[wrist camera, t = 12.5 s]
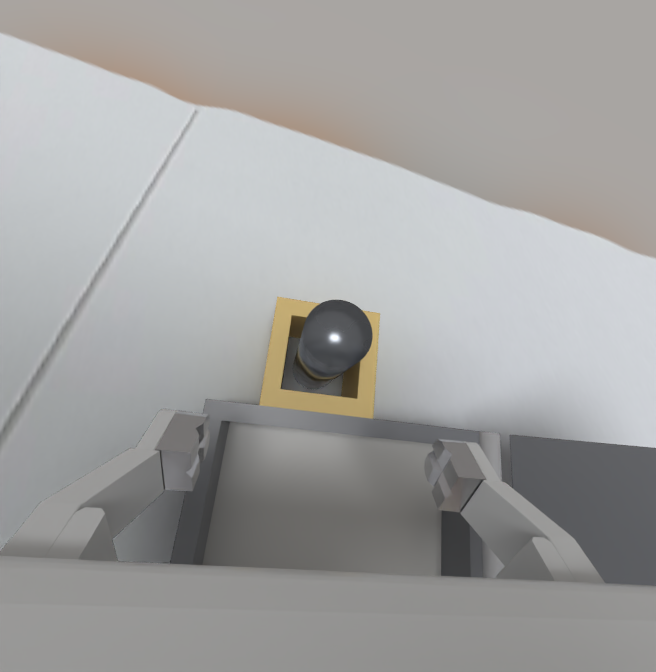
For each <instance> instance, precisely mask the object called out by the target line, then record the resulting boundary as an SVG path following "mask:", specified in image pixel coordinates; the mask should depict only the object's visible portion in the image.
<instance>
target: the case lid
mask: <svg viewBox="0 0 656 672" xmlns="http://www.w3.org/2000/svg"><path fill="white" fill-rule="evenodd" d="M510 449H511V467H512V485H513V489H514V490H515V491H516V492H518V493H519V494H520V495H521V496H523V497H524V498H525V499H526V500H528V501H529V502H530V503H531V504H532V505H534V506H535V507H536V508H537V509H539V510H540V511H541V512H542V513H544V514H545V515H546V516H547V517H548V518H550V519H551V520H552V521H553V522H555V523H556V524H557V525H558V526H559V527H561V528H562V529H563V530H564V531H566V532H567V533H568V534H569V535H571V536H572V537H573V538H574V539H575V540H576V542H577V543H578V545H579V546H580V547H581V549H582V550H583V552H584V553H585V555H586V556H587V558H588V559H589V560H590V562H591V563H592V565H593V566H594V568H595V569H596V570H597V572H598V573H599V575H600V576H601V578H602V579H603V581H604V582H605V583H610V584H633V585H655V586H656V448H649V447H638V446H627V445H617V444H606V443H595V442H584V441H573V440H562V439H551V438H540V437H529V436H518V435H510Z"/></svg>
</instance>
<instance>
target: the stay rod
mask: <svg viewBox="0 0 656 672" xmlns="http://www.w3.org/2000/svg"><path fill="white" fill-rule="evenodd" d="M372 338H373V333H372V327H371V324H370V321H369V319H368V318H367V316H366V315H365V313H364V312H363V311H362V310H361V309H360V308H358V307H357V306H356V305H354V304H352V303H350V302H347V301H343V300H329V301H326V302H323V303H321V304H319V305H317V306H316V307H315V308H314V309H313V310H312V311H311V312H310V313H309V315H308V316H307V318H306V321H305V324H304V327H303V331H302V335H301V338H300V342H299V346H298V350H297V353H296V357H295V361H294V365H293V374H294V377H295V379H296V380H297V382H298V383H299V384H300V385H301V386H303V387H305V388H307V389H313V390H314V389H320V388H322V387H324V386H325V385H327V384H328V383H330V382H331V381H332V380H334V379H335V378H337V377H338V376H339V375H341V374H342V373H344V372H345V371H347V370H348V369H349V368H351V367H352V366H354V365H355V364H356V363H358V362H359V361H361V360H362V359H363V358H364V357H365V356H366V354H367V353H368V351H369V349H370V347H371V344H372Z"/></svg>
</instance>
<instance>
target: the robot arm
mask: <svg viewBox="0 0 656 672" xmlns="http://www.w3.org/2000/svg"><path fill="white" fill-rule="evenodd" d="M209 424H210V415H208V414H201V413H193V412H186V411H176V410H169V409H161V410H160V411H159V412H158V413H157V415H156V416H155V418H154V419H153V421H152V422H151V424H150V426H149V427H148V429H147V430H146V432H145V434H144V435H143V437H142V438H141V440H140V441H139V443H138V445H137V446H136V448H129V449H128V450H126V451H124V452H123V453H121V454H119V455H118V456H116V457H114V458H113V459H111V460H109V461H108V462H106V463H104V464H103V465H101V466H100V467H98V468H96V469H95V470H93V471H91V472H90V473H88V474H86V475H85V476H83V477H81V478H80V479H78V480H76V481H75V482H73V483H71V484H70V485H68V486H67V487H65V488H63V489H62V490H60V491H58V492H57V493H55V494H53V495H52V496H50V497H48V498H47V499H45V500H43V501H42V502H40V503H39V505H38V506H37V507H36V508H35V510H34V511H33V512H32V513H31V514H30V516H29V517H28V518H27V519H26V521H25V522H24V523H23V524H22V526H21V527H20V528H19V529H18V530H17V532H16V533H15V534H14V535H13V537H12V538H11V539H10V540H9V541H8V543H7V544H6V545H5V546H4V548H3V549H2V550H1V551H0V672H656V586H655V585H633V584H610V583H605V582H604V581H603V579H602V578H601V576H600V575H599V573H598V572H597V570H596V569H595V568H594V566H593V565H592V563H591V562H590V560H589V559H588V558H587V556H586V555H585V553H584V552H583V550H582V549H581V547H580V546H579V545H578V543H577V542H576V540H575V539H574V538H573V537H572V536H571V535H569V534H568V533H567V532H566V531H564V530H563V529H562V528H561V527H559V526H558V525H557V524H556V523H555V522H553V521H552V520H551V519H550V518H548V517H547V516H546V515H545V514H544V513H542V512H541V511H540V510H539V509H537V508H536V507H535V506H534V505H532V504H531V503H530V502H529V501H528V500H526V499H525V498H524V497H523V496H521V495H520V494H519V493H518V492H516V491H515V490H514V489H513V488H512V487H510V486H509V485H508V484H507V483H505V482H501V481H500V479H499V477H498V476H497V474H496V472H495V471H494V469H493V467H492V466H491V464H490V462H489V461H488V459H487V457H486V456H485V454H484V452H483V451H482V449H481V447H480V446H479V445H478V444H477V443H474V442H464V441H463V442H462V441H454V440H444V439H437V440H435V441H434V443H433V445H432V447H433V451H432V452H430V453H429V454H427V457H426V459H425V464H424V470H425V475H426V478H427V481H428V482H429V483H430V484H431V485H432V486H433V489H432V495H433V497H434V500H435V503H436V506H437V508H438V510H443V511H453V512H461V513H460V514H461V515H462V516H463V517H464V518H465V520H466V521H467V522H468V523H469V524H470V525H471V527H472V528H473V529H474V530H475V531H476V533H477V534H478V535H479V536H480V537H481V538H482V540H483V541H484V542H485V543H486V544H487V546H488V547H489V548H490V549H491V550H492V551H493V553H494V554H495V555H496V556H497V557H498V559H499V560H500V561H501V562H502V563H503V564H504V566H505V567H504V568H503V569H502V570H501V571H500V572H499V573H498V574H497V577H496V578H477V577H455V576H433V575H412V574H390V573H368V572H346V571H324V570H301V569H279V568H257V567H235V566H213V565H190V564H168V563H146V562H124V561H118V559H117V555H116V552H115V548H114V545H113V541H112V539H113V538H114V537H115V536H116V535H117V534H118V533H120V532H121V531H122V530H123V529H124V528H125V527H126V526H127V525H128V524H129V523H130V522H132V521H133V520H134V519H135V518H136V517H137V516H138V515H139V514H140V513H141V512H142V511H144V510H145V509H146V508H147V507H148V506H149V505H150V504H151V503H152V502H153V501H154V500H156V499H157V498H158V497H159V496H160V495H161V494H162V493H163V492H164V490H174V491H193V489H194V486H195V483H196V481H197V478H198V475H199V473H200V463H202V462H203V461H204V459H205V456H206V454H207V450H208V446H209V439H210V432H209V431H208V430H207V429H208V426H209Z"/></svg>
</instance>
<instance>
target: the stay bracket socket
mask: <svg viewBox="0 0 656 672" xmlns="http://www.w3.org/2000/svg"><path fill="white" fill-rule="evenodd" d="M317 305H319V303H313V302H307V301H301V300H294V299H288V298H282V297H277V303H276V309H275V314H274V320H273V326H272V332H271V338H270V344H269V350H268V356H267V362H266V368H265V373H264V379H263V385H262V391H261V397H260V403H259V405H261V406H269V407H278V408H286V409H295V410H303V411H312V412H320V413H328V414H337V415H345V416H354V417H362V418H371V419H373V412H374V397H375V382H376V366H377V351H378V336H379V321H380V313H375V312H369V311H363V312H364V313H365V315H366V316H367V318H368V319H369V321H370V324H371V327H372V333H373V338H372V344H371V347H370V349H369V351H368V353H367V354H366V356H365V357H364V358H363V359H362V360H361V361H359V362H358V363H356V364H355V365H354V366H352V367H351V368H349V369H348V370H347V371H345V372H344V373H343V383H342V393H341V397H339V396H331V395H323V394H315V393H307V392H300V391H292V390H284V389H281V387H282V380H283V374H284V367H285V361H286V354H287V348H288V341H289V337H295V338H301V335H302V331H303V327H304V324H305V321H306V318H307V316H308V315H309V313H310V312H311V311H312V310H313V309H314V308H315V307H316V306H317Z"/></svg>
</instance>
